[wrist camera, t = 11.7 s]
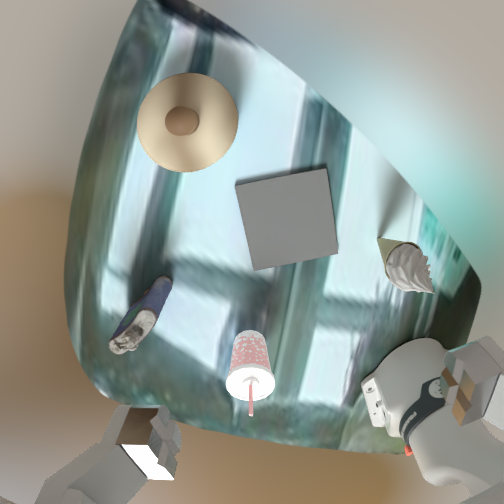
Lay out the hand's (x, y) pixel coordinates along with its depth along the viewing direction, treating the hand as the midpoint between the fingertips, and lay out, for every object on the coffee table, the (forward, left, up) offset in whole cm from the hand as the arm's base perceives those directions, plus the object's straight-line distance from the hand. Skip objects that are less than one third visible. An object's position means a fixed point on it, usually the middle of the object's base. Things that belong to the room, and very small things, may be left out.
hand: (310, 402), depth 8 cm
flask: (-11, +18, -32) cm, 39 cm away
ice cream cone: (-9, -14, -32) cm, 36 cm away
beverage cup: (-21, +6, -32) cm, 39 cm away
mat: (-4, -3, -32) cm, 32 cm away
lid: (+10, +6, -27) cm, 30 cm away
